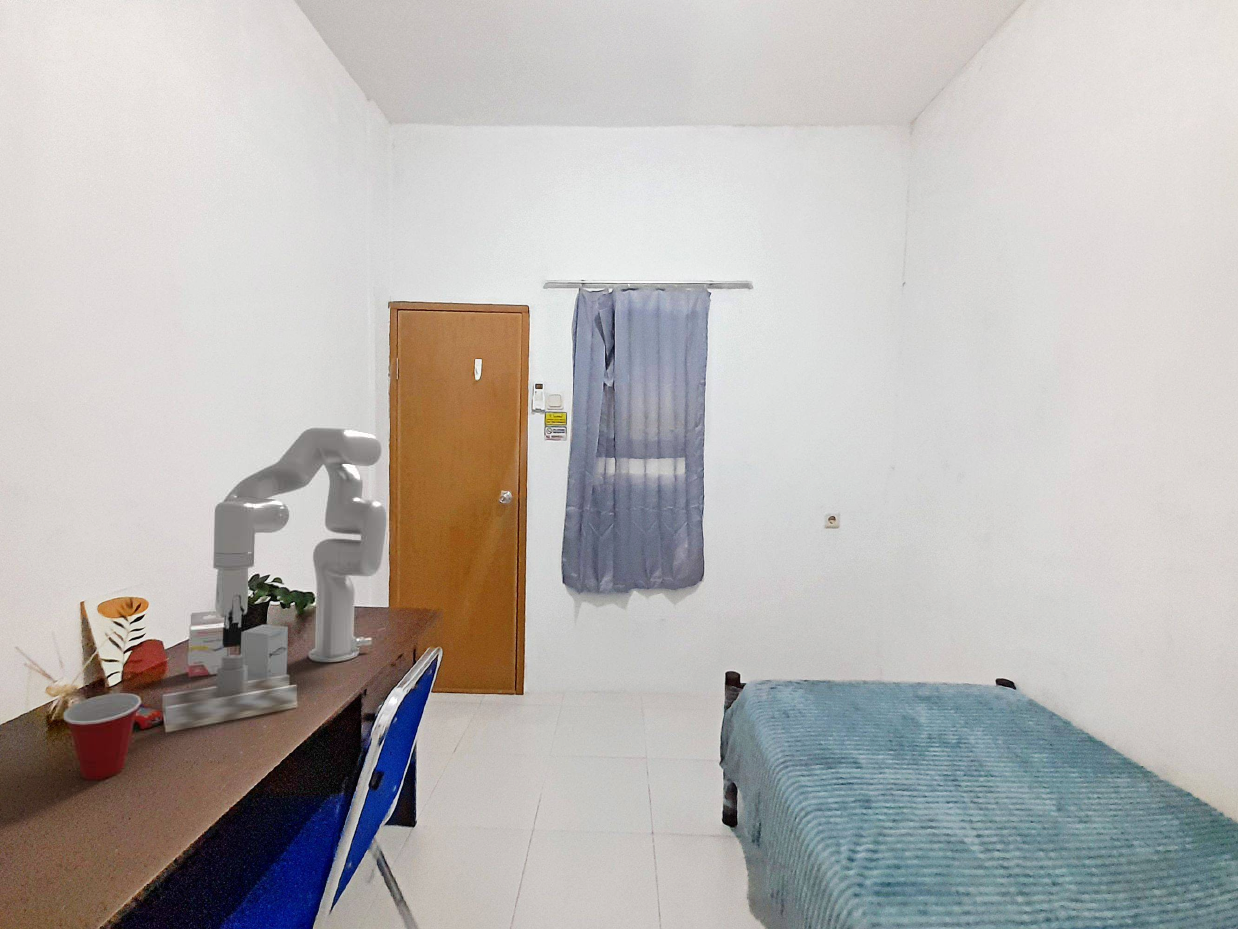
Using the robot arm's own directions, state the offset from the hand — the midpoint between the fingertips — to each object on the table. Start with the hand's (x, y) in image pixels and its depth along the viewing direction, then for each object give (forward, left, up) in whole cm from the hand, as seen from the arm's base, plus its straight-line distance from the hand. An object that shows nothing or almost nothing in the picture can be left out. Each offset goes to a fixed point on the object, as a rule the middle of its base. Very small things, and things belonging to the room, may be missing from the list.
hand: (231, 645), depth 145 cm
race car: (+17, -4, -15) cm, 23 cm away
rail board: (0, 0, -14) cm, 14 cm away
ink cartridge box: (+1, -29, -15) cm, 33 cm away
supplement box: (-9, -16, -15) cm, 24 cm away
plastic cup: (+22, +18, -15) cm, 32 cm away
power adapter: (0, 0, -12) cm, 12 cm away
